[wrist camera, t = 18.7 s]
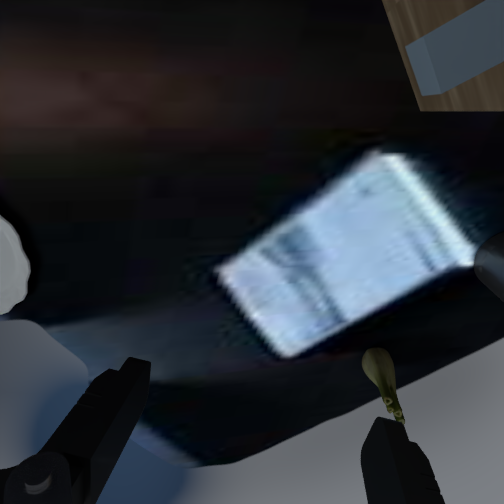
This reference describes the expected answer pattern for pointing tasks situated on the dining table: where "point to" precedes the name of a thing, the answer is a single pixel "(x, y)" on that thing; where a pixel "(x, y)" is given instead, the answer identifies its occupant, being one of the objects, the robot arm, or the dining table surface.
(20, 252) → the plate
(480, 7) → the blue-gray bar
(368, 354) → the fennel bulb
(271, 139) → the dining table surface
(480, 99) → the plinth
